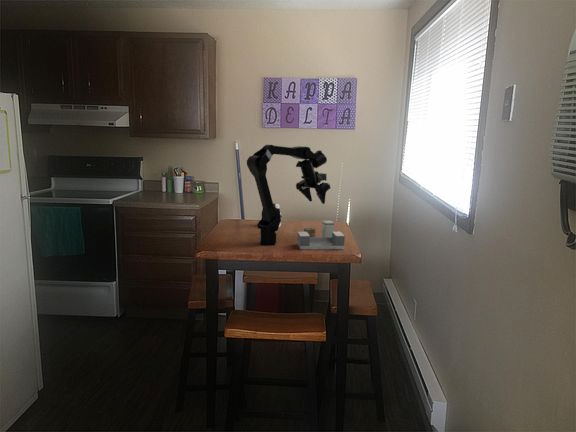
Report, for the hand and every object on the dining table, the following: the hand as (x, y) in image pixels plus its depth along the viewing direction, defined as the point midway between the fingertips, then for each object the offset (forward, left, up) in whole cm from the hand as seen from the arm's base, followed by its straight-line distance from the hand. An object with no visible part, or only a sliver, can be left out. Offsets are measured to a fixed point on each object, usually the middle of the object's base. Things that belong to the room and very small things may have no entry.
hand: (317, 202), depth 209 cm
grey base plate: (-2, -21, -16) cm, 27 cm away
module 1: (-9, -21, -15) cm, 27 cm away
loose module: (+4, -10, -16) cm, 19 cm away
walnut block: (-4, -1, -16) cm, 17 cm away
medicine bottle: (-18, +24, -17) cm, 34 cm away
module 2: (+6, -21, -15) cm, 26 cm away
